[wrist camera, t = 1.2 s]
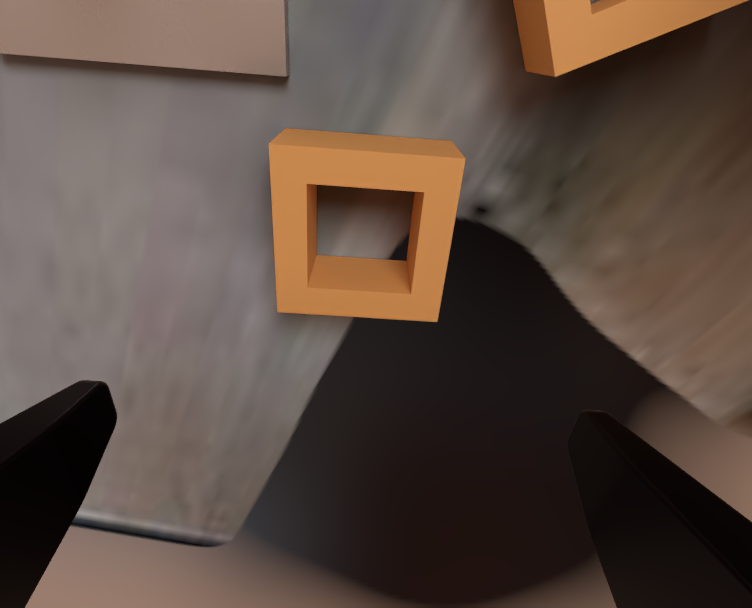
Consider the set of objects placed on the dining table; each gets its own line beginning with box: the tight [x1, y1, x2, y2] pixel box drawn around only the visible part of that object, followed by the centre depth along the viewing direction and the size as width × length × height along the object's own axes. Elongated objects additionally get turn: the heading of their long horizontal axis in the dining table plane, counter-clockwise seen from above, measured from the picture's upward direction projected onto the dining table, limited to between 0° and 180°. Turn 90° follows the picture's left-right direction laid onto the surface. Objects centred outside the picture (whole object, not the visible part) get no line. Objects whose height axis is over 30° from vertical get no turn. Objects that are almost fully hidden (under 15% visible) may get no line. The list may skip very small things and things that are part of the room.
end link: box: [269, 128, 465, 322], centre depth 17 cm, size 6×6×3 cm
